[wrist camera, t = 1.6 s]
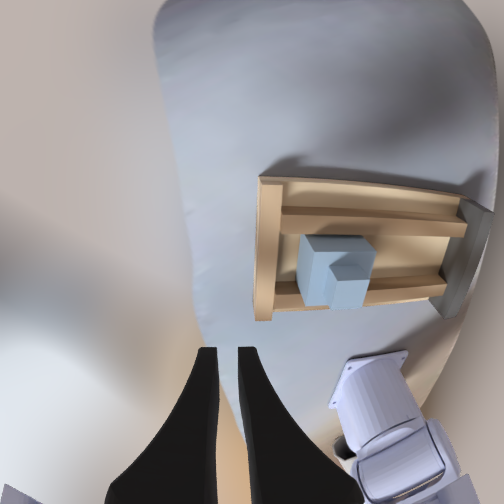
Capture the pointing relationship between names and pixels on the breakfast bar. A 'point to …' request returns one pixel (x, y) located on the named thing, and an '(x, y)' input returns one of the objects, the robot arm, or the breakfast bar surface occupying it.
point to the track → (369, 240)
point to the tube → (344, 453)
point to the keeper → (334, 270)
